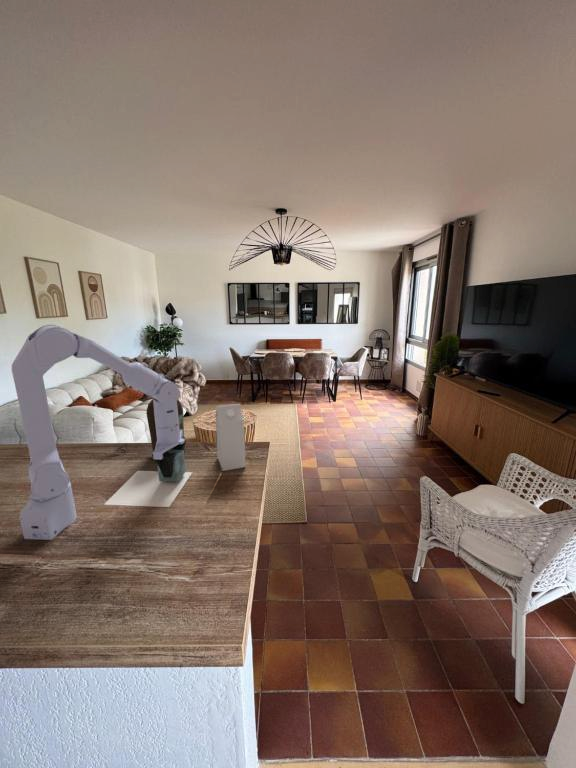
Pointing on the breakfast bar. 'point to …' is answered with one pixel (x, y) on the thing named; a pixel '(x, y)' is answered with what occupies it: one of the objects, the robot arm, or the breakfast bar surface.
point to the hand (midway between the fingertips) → (172, 471)
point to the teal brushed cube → (175, 467)
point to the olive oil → (153, 427)
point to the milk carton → (230, 436)
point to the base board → (148, 490)
